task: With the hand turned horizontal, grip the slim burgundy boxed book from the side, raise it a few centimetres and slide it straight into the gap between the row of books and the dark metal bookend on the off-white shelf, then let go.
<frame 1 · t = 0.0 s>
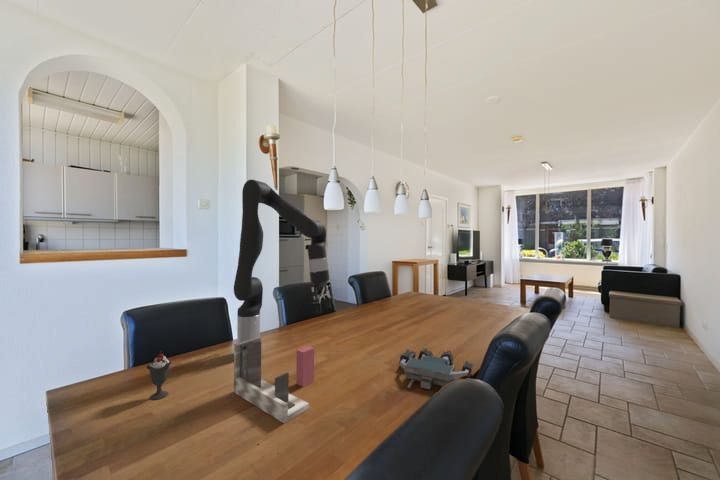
hand: (323, 310, 118), 22 cm above the table, tool pointing down, fingers open, 8 cm apart
book: (305, 382, 105), on the table
sundae: (159, 396, 95), on the table
toy: (434, 376, 113), on the table
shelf: (271, 399, 94), on the table
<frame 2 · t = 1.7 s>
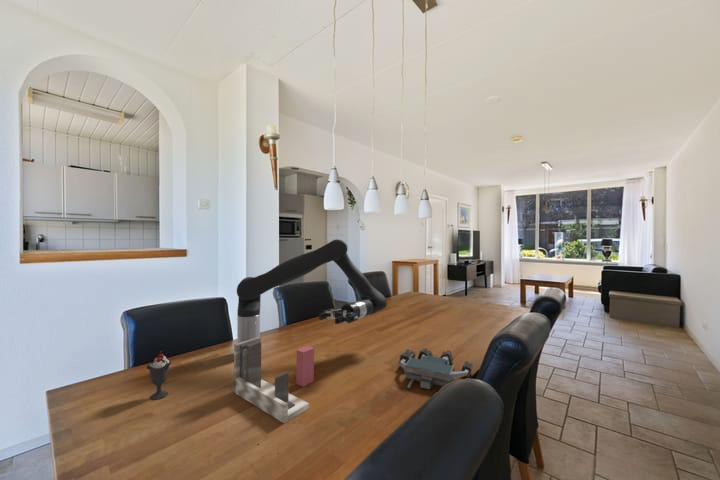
hand: (327, 319, 114), 20 cm above the table, tool horizontal, fingers open, 8 cm apart
nothing on the table moved.
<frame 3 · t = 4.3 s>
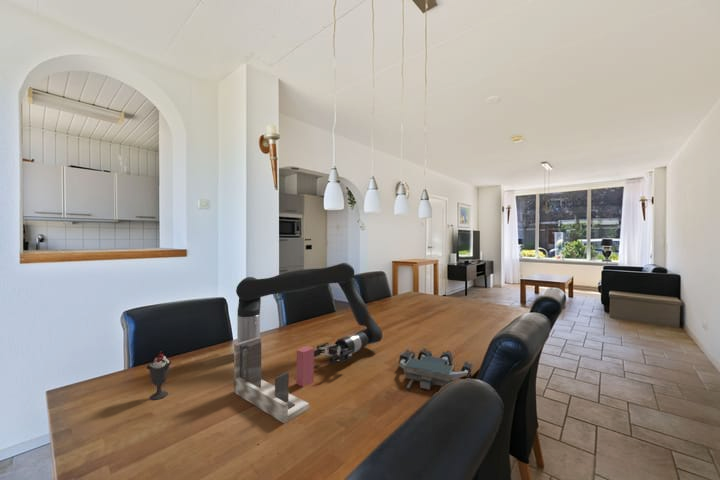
hand: (321, 357, 111), 6 cm above the table, tool horizontal, fingers open, 8 cm apart
nothing on the table moved.
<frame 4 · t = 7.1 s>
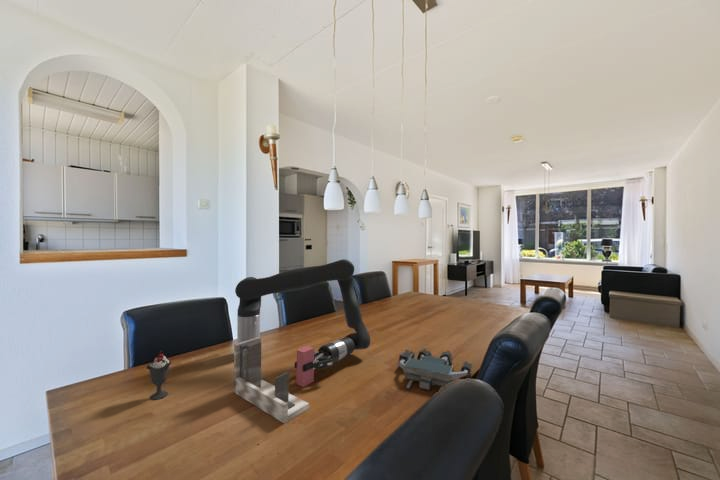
hand: (299, 367, 103), 7 cm above the table, tool horizontal, fingers closed on book, 3 cm apart
book: (305, 382, 105), on the table, touching gripper
everything else where it was.
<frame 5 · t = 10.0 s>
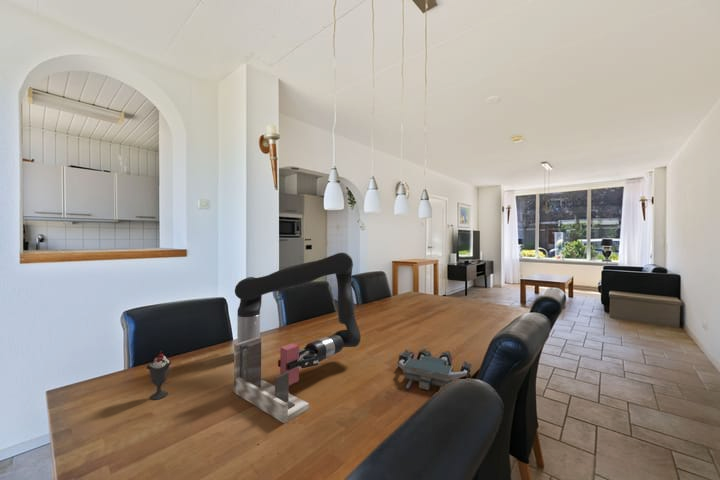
hand: (282, 365, 97), 9 cm above the table, tool horizontal, fingers closed on book, 3 cm apart
book: (289, 381, 100), point 3 cm above the table, touching gripper
everything else where it was.
when the fingers open (9 cm above the table, at t = 12.8 s): book drops 1 cm, resting on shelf.
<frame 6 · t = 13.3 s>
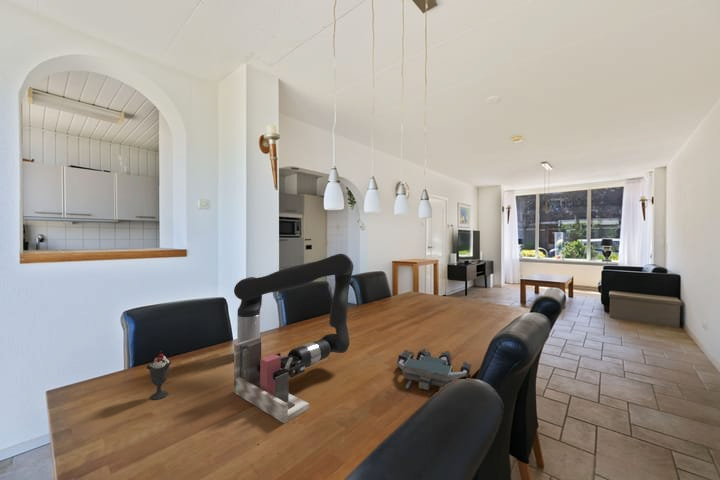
hand: (265, 372, 92), 10 cm above the table, tool horizontal, fingers open, 8 cm apart
book: (270, 395, 94), point 1 cm above the table, touching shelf
everything else where it was.
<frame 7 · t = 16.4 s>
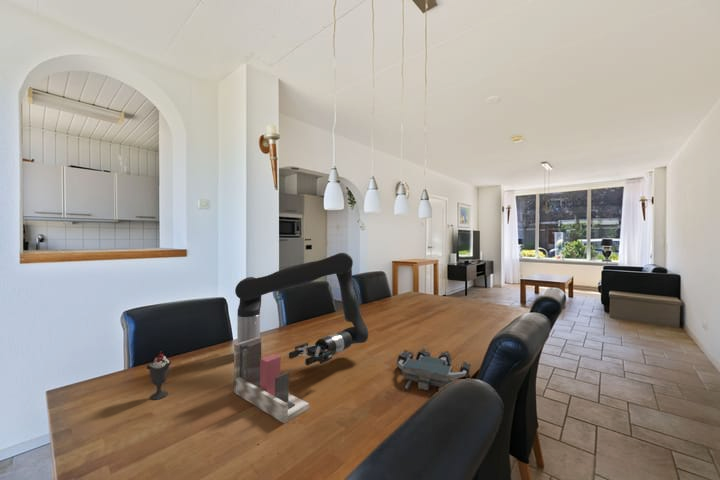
hand: (297, 359, 102), 9 cm above the table, tool horizontal, fingers open, 8 cm apart
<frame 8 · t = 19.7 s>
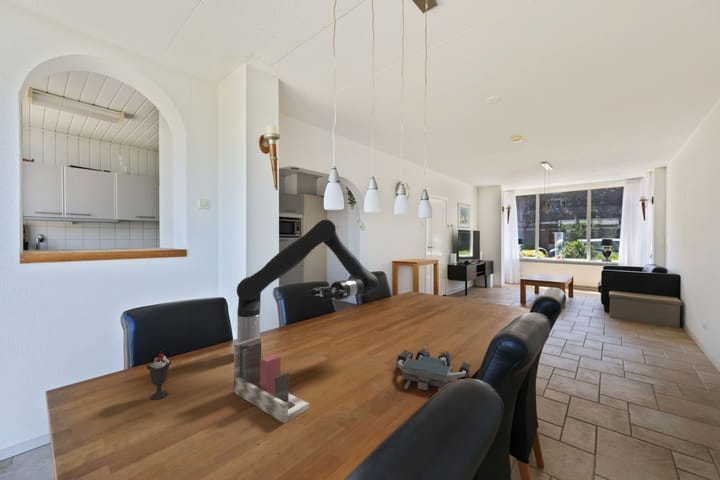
hand: (315, 295, 110), 30 cm above the table, tool horizontal, fingers open, 8 cm apart
at the end: book 0.3 cm off-centre on the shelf, point 1.5 cm above the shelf's base; book tilted 0°; the gripper is holding nothing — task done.
